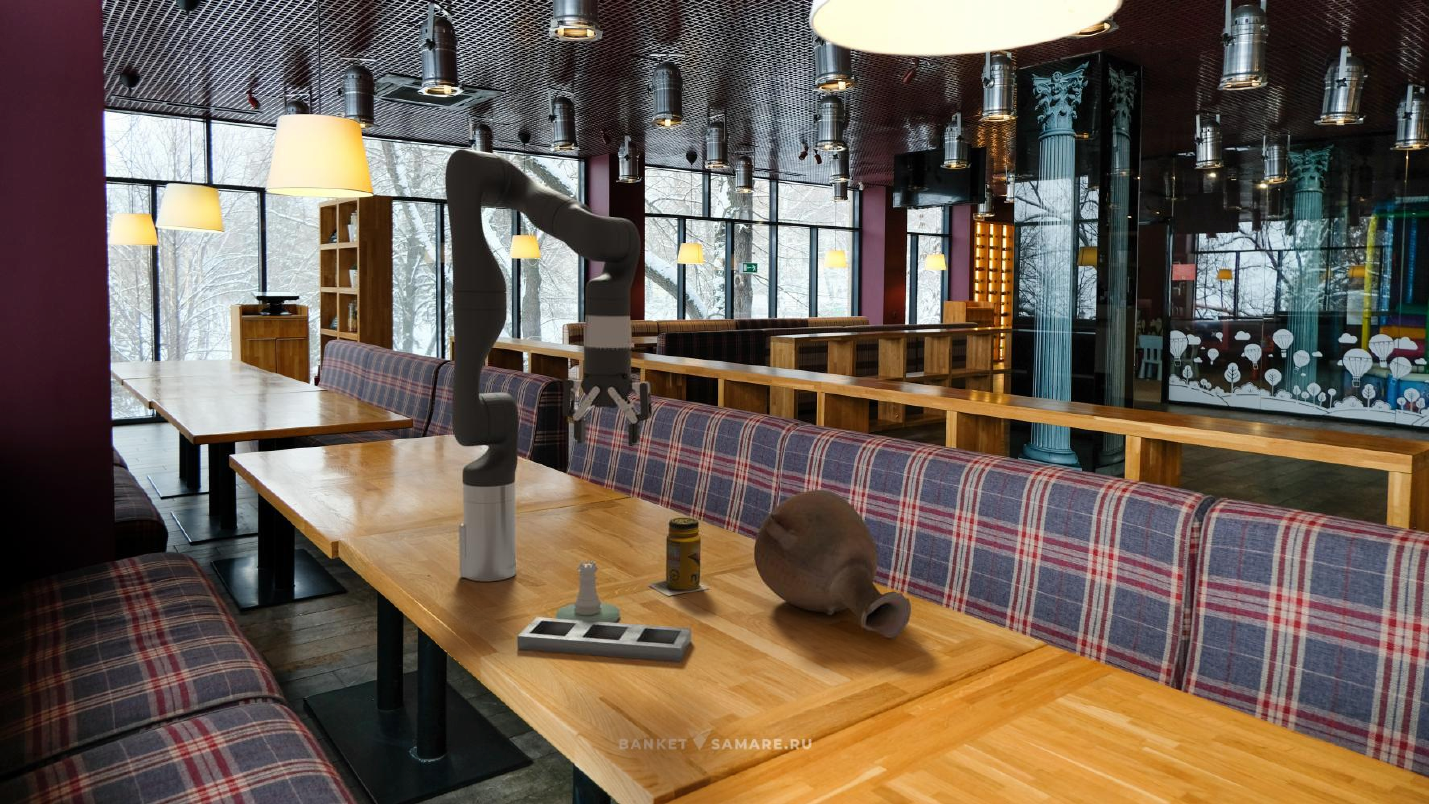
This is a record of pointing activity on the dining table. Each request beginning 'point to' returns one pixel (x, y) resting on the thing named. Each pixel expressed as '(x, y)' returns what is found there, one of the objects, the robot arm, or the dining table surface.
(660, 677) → the dining table surface
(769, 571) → the jug
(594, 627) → the grey compartment tray
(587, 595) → the rook chess piece
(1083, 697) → the dining table surface
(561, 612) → the green dome
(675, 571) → the condiment
